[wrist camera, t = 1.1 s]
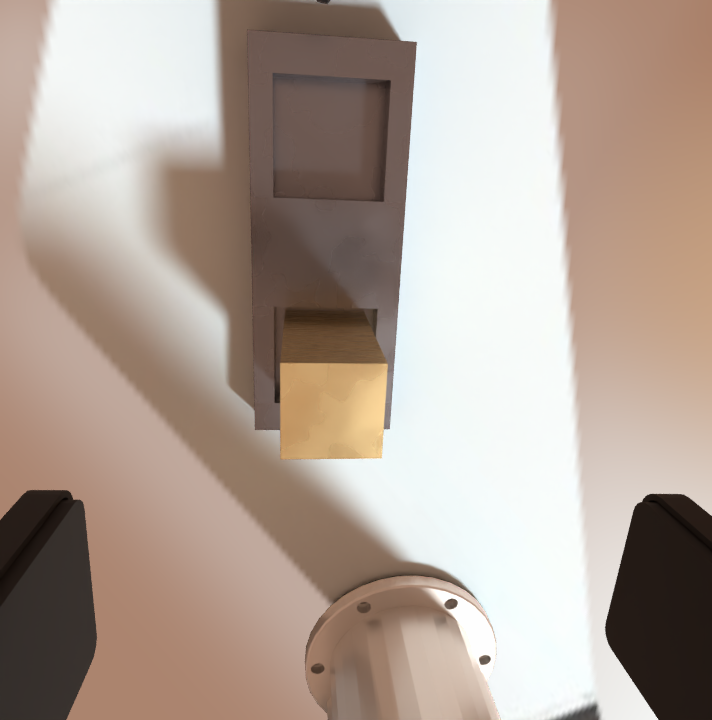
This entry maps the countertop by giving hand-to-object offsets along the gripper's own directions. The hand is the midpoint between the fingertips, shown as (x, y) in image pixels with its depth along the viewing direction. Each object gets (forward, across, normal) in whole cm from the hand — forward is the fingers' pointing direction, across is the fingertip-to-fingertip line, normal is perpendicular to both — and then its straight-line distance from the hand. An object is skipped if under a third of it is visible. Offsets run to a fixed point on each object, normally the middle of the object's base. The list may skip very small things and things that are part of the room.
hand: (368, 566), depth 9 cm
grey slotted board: (+20, 0, -3) cm, 20 cm away
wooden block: (+20, 0, +2) cm, 20 cm away
